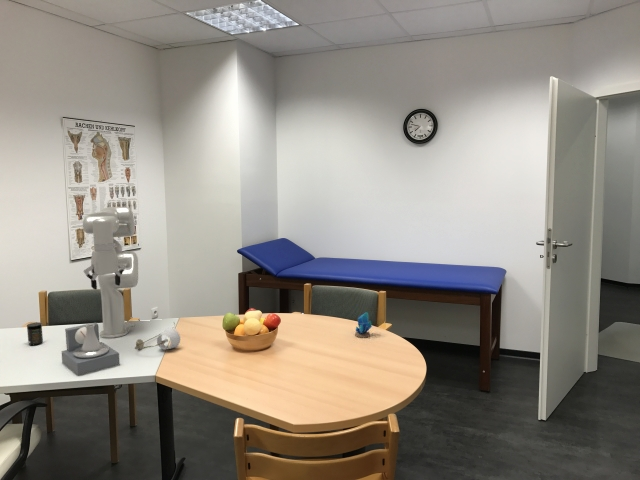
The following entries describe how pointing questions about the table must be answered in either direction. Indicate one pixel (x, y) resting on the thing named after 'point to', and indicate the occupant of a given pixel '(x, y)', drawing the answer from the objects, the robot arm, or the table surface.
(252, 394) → the table surface
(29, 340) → the supplement container
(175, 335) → the light fixture
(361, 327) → the gemstone
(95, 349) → the flask
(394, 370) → the table surface
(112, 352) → the scale
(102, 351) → the pan
